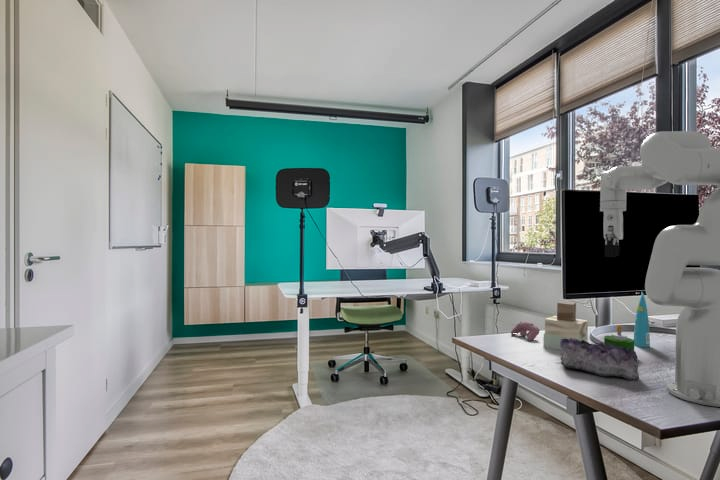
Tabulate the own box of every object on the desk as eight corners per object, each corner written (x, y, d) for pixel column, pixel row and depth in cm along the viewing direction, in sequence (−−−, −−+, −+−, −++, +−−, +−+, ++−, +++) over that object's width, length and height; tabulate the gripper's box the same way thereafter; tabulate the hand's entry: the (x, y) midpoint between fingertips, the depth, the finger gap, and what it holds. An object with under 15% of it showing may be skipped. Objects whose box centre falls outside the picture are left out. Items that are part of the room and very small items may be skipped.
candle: (603, 350, 134) (604, 321, 134) (632, 354, 129) (633, 324, 129) (604, 356, 127) (604, 325, 126) (635, 361, 122) (635, 329, 122)
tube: (632, 342, 144) (633, 290, 144) (648, 344, 142) (649, 291, 141) (634, 347, 138) (635, 293, 137) (651, 349, 135) (652, 294, 135)
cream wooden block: (578, 339, 130) (578, 324, 130) (544, 332, 138) (545, 318, 138) (587, 334, 136) (587, 320, 136) (554, 328, 144) (554, 315, 144)
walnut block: (572, 321, 134) (573, 304, 134) (557, 319, 137) (557, 302, 137) (575, 319, 138) (576, 302, 138) (560, 317, 141) (560, 301, 141)
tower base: (581, 354, 130) (582, 339, 130) (543, 347, 137) (543, 333, 137) (587, 347, 137) (587, 333, 137) (550, 341, 145) (551, 328, 145)
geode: (639, 373, 112) (641, 340, 110) (638, 390, 103) (640, 355, 101) (561, 356, 124) (562, 326, 123) (554, 371, 115) (555, 338, 113)
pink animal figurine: (536, 344, 145) (543, 327, 146) (528, 340, 143) (535, 322, 144) (516, 338, 154) (523, 322, 155) (509, 334, 152) (515, 317, 153)
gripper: (623, 204, 124) (622, 258, 124) (628, 208, 137) (627, 256, 138) (596, 205, 129) (595, 257, 129) (603, 208, 142) (602, 255, 142)
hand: (611, 256), depth 133 cm, fingers open, 9 cm apart
